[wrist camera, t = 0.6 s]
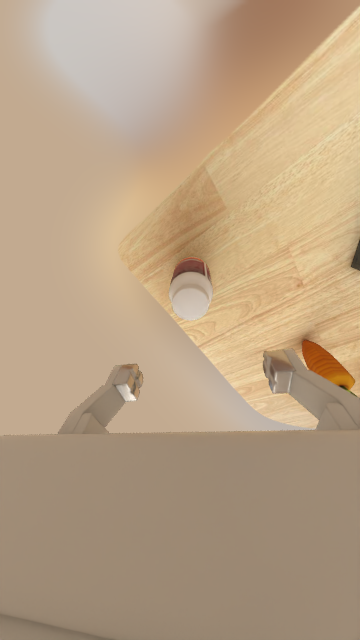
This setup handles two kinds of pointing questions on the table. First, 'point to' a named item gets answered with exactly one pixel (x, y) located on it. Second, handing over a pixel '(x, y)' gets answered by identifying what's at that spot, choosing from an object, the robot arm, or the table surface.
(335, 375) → the carrot
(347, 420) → the robot arm
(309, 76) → the table surface
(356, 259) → the divided tray
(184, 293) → the pill bottle
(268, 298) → the table surface
